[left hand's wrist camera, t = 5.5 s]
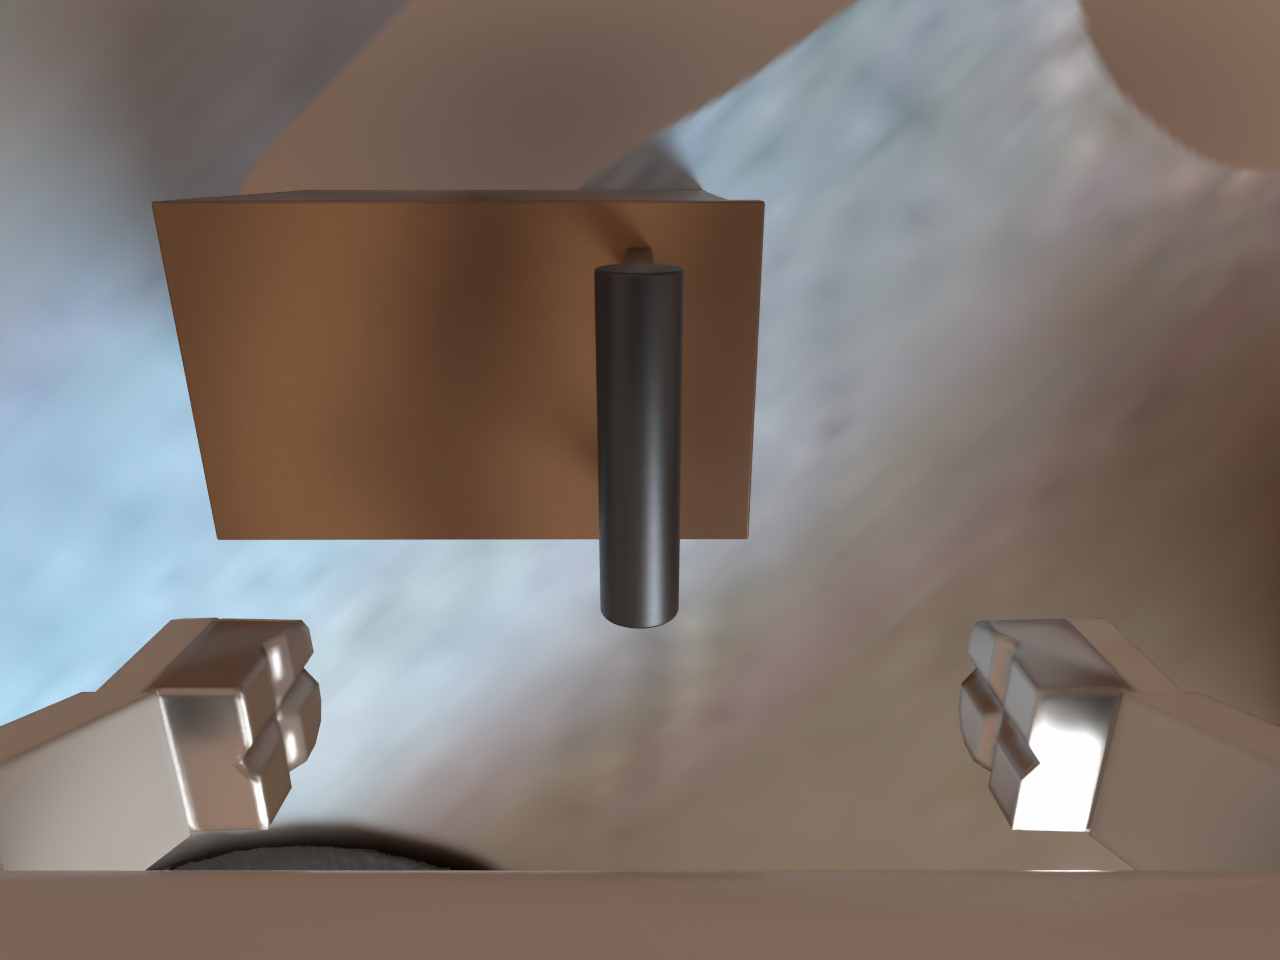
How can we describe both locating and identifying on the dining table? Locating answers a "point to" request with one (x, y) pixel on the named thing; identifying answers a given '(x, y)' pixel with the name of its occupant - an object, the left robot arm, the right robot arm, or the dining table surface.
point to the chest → (477, 195)
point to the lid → (475, 372)
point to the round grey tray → (302, 860)
